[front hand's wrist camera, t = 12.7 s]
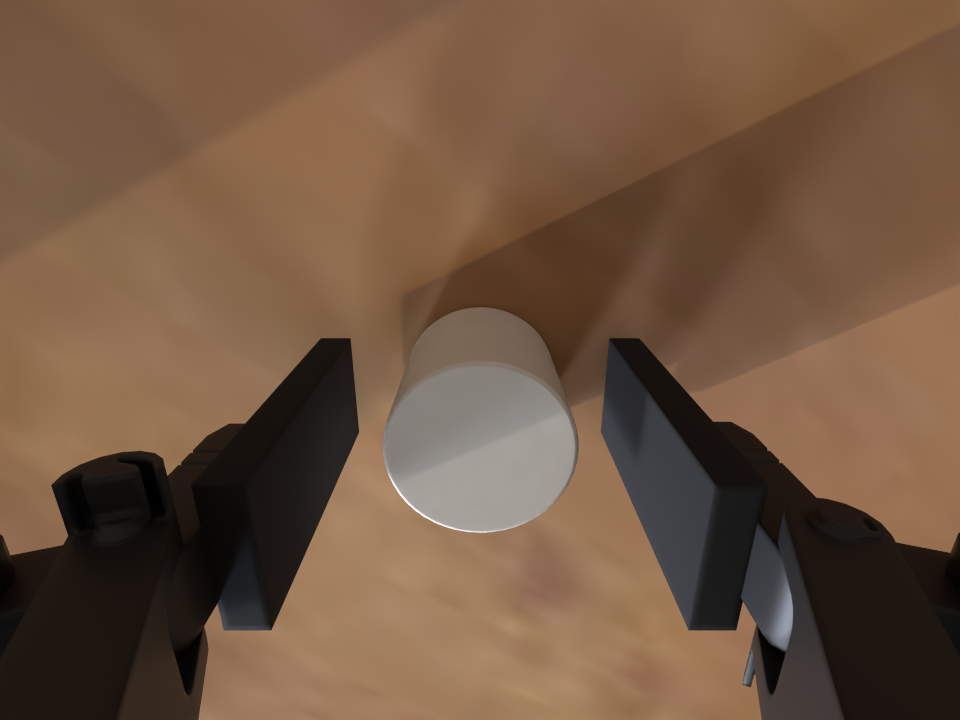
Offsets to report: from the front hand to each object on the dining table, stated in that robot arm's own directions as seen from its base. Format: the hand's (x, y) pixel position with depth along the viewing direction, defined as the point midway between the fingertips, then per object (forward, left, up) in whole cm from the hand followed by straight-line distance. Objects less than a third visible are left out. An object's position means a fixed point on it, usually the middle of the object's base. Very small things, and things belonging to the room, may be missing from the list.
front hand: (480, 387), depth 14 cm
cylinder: (0, 0, 0) cm, 1 cm away
